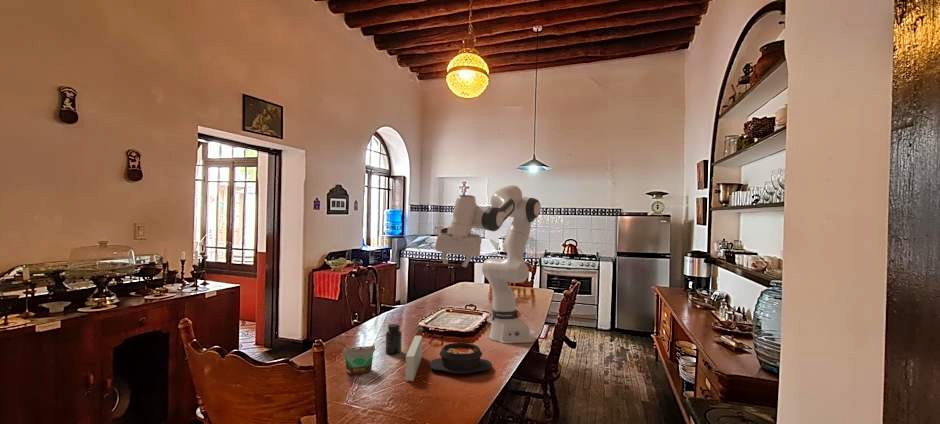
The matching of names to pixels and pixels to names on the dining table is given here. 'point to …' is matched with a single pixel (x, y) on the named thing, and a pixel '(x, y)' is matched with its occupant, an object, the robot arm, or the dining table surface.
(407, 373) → the board
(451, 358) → the casserole
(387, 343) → the supplement bottle
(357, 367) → the food container
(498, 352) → the dining table surface
